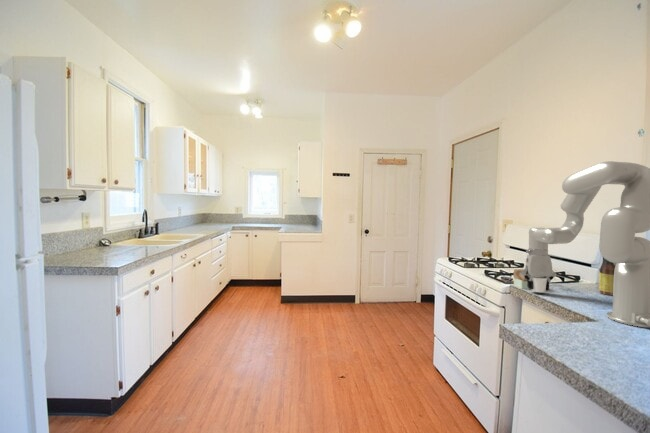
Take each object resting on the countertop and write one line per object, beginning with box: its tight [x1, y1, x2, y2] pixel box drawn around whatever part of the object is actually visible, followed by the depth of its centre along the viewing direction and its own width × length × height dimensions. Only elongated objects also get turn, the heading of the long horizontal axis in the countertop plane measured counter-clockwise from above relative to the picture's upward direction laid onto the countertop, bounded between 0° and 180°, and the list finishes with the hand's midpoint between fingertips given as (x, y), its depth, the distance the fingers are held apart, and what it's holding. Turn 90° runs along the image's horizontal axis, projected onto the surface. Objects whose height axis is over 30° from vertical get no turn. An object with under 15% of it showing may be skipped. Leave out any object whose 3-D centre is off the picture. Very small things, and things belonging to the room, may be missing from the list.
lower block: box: [513, 277, 531, 290], centre depth 147 cm, size 8×8×4 cm
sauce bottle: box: [598, 255, 616, 297], centre depth 136 cm, size 7×6×20 cm
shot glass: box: [531, 276, 547, 294], centre depth 137 cm, size 7×7×7 cm
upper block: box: [513, 268, 528, 281], centre depth 147 cm, size 8×8×4 cm
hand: (538, 288), depth 137 cm, fingers closed on shot glass, 6 cm apart
